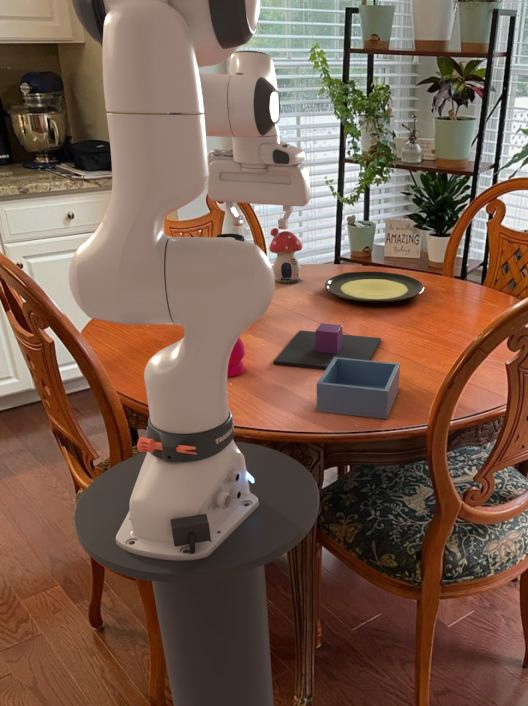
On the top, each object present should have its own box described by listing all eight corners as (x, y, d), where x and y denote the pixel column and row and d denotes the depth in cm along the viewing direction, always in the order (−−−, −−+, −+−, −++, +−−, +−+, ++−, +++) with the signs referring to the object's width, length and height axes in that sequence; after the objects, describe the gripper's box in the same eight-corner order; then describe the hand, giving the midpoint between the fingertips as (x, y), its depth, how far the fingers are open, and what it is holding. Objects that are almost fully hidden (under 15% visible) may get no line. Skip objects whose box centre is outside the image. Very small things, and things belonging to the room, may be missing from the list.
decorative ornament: (269, 283, 206) (267, 229, 199) (273, 276, 212) (270, 224, 204) (301, 284, 206) (300, 230, 198) (304, 277, 212) (302, 225, 204)
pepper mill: (234, 362, 156) (227, 270, 146) (252, 372, 151) (246, 278, 141) (205, 369, 152) (196, 276, 142) (222, 380, 148) (214, 285, 137)
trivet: (363, 373, 152) (363, 370, 152) (273, 364, 155) (273, 361, 155) (380, 341, 169) (381, 337, 168) (299, 333, 172) (299, 330, 172)
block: (337, 354, 159) (337, 332, 156) (315, 351, 160) (315, 330, 157) (342, 346, 163) (342, 325, 161) (321, 344, 164) (321, 323, 162)
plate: (303, 290, 201) (303, 282, 199) (375, 273, 217) (376, 265, 216) (371, 316, 183) (371, 307, 182) (444, 295, 199) (445, 287, 198)
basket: (386, 419, 134) (387, 391, 131) (316, 411, 136) (316, 383, 133) (398, 390, 145) (400, 363, 142) (334, 383, 148) (334, 356, 145)
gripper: (198, 150, 134) (205, 227, 141) (302, 155, 130) (304, 234, 137) (211, 146, 139) (217, 220, 146) (312, 151, 135) (313, 227, 142)
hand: (260, 227), depth 142 cm, fingers open, 8 cm apart
